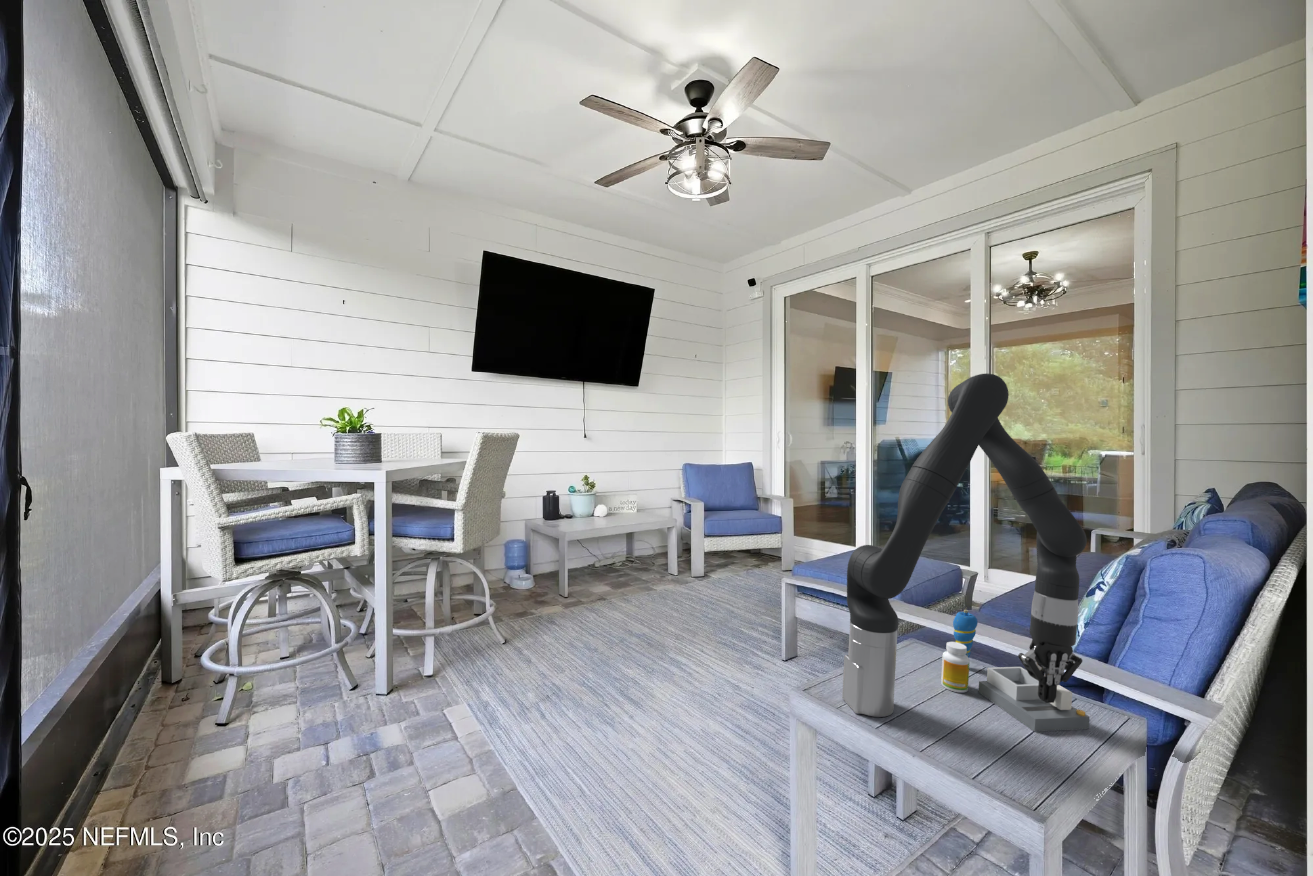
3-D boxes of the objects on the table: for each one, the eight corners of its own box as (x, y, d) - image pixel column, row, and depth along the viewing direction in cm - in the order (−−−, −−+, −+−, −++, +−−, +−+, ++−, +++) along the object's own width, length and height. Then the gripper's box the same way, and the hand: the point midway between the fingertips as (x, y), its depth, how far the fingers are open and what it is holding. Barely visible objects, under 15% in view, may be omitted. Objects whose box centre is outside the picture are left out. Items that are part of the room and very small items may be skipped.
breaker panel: (1034, 731, 104) (1036, 704, 104) (978, 692, 119) (979, 668, 119) (1088, 728, 106) (1090, 701, 106) (1026, 690, 121) (1028, 666, 120)
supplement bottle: (971, 694, 118) (974, 651, 117) (945, 691, 119) (947, 648, 118) (963, 683, 123) (965, 641, 123) (937, 680, 124) (939, 639, 124)
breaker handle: (1060, 710, 107) (1061, 692, 107) (1047, 702, 110) (1048, 685, 110) (1071, 709, 107) (1072, 692, 107) (1058, 701, 110) (1059, 685, 110)
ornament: (968, 663, 133) (972, 604, 133) (979, 673, 128) (982, 611, 128) (947, 661, 134) (950, 603, 133) (956, 671, 129) (959, 610, 128)
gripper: (1040, 624, 103) (1032, 711, 103) (1100, 624, 105) (1092, 710, 105) (1009, 609, 110) (1002, 691, 111) (1066, 610, 112) (1059, 690, 113)
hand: (1046, 700), depth 108 cm, fingers closed
